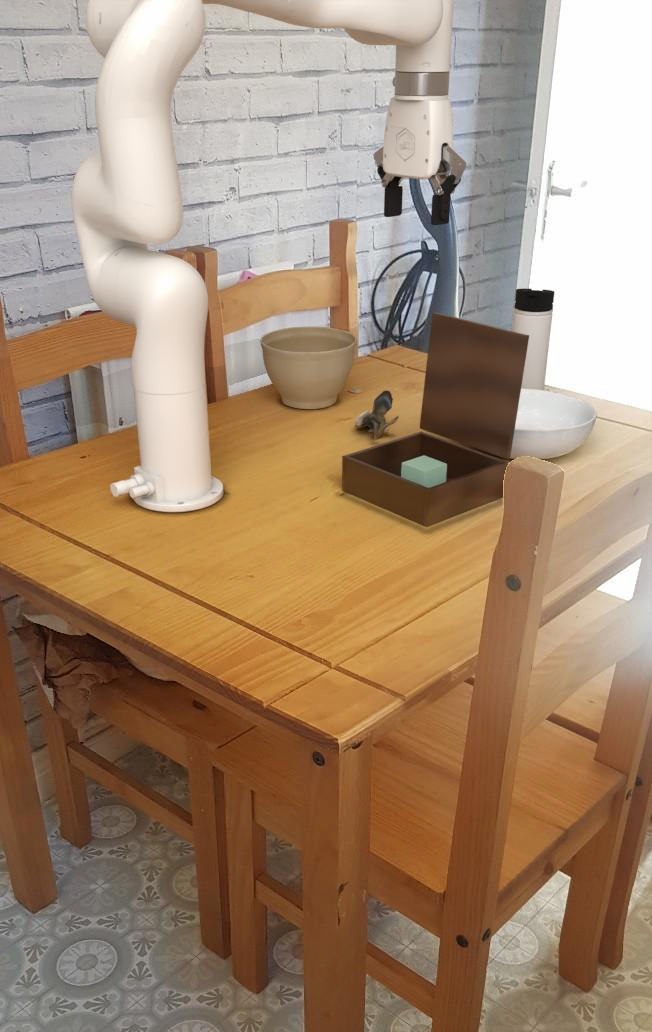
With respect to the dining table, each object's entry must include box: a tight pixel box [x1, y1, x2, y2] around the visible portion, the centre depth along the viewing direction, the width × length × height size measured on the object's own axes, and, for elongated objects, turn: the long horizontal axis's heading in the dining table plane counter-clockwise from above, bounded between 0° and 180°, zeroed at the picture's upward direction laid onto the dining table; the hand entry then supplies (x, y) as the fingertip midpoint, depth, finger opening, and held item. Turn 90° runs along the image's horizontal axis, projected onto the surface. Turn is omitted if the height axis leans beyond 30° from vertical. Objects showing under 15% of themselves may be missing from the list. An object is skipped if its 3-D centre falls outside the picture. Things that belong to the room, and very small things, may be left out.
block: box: [401, 455, 447, 488], centre depth 142 cm, size 4×4×4 cm
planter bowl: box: [260, 325, 357, 410], centre depth 177 cm, size 16×16×11 cm
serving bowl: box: [492, 389, 598, 460], centre depth 158 cm, size 21×21×7 cm
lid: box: [419, 311, 529, 460], centre depth 142 cm, size 16×16×5 cm
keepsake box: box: [341, 431, 509, 528], centre depth 142 cm, size 15×16×6 cm
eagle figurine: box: [354, 389, 400, 442], centre depth 164 cm, size 8×7×9 cm
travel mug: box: [511, 288, 555, 391], centre depth 171 cm, size 6×7×20 cm
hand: (415, 220), depth 153 cm, fingers open, 9 cm apart
